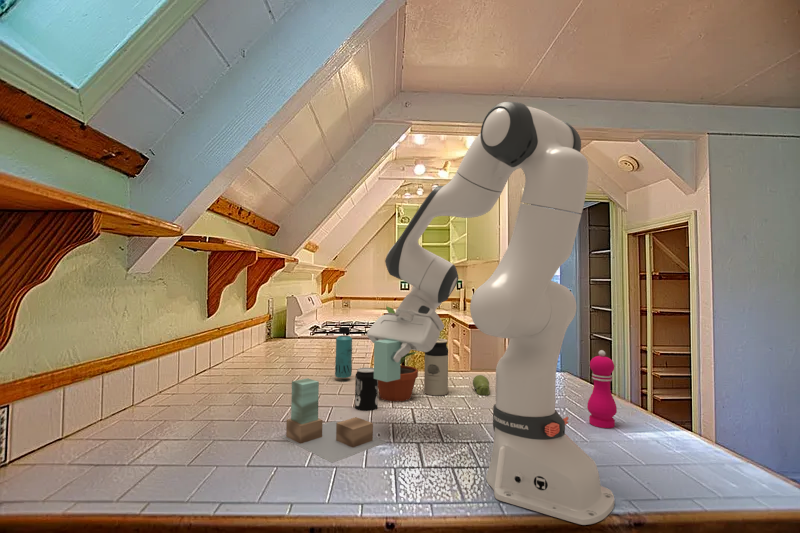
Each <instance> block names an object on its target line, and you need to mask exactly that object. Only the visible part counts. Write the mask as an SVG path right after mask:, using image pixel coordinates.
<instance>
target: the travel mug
mask: <svg viewBox="0 0 800 533" xmlns="http://www.w3.org/2000/svg"><path fill="white" fill-rule="evenodd" d="M448 341H449V340H448V339H446V338H445V339H444V338H438V340H437V342H436V343H435V345H434V347H433V348H432V349H431V350H430V351H428V352H424V372H423V373H424V380H423V381H424V382H423V384H424V386H423V388H424V391H423V392H424V393H425V394H426V395H428V396H433V397H439V396H445V395H447V394H448V393H449V349H448V347H447V343H448Z"/></svg>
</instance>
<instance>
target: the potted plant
mask: <svg viewBox="0 0 800 533" xmlns="http://www.w3.org/2000/svg"><path fill="white" fill-rule="evenodd" d="M385 307H386V311H387V314H388V313H396V310H394V309H393V308H392V307H390V306H388V305H387V304H385ZM379 317H380V316H379ZM379 317H378V316H377V319H378V318H379ZM415 354H418V352H416V351H413V352H409V353H408V354H406V355H405V356H403V357H402V358H401V359H400V379H398V380H394V381H389V382H384V381H381V380H378V395H379V398H380V399H381V400H383V401H387V402H404V401H409V400H411V397H412V394H413V391H414V387H415V383H416V379H417V378H418V377H419V369H418V368H417V367H413V366H409V365H402V364H403V363H404V362H405V360H406V358H407V357H409V356H411V355H415Z"/></svg>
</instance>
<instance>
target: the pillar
mask: <svg viewBox="0 0 800 533" xmlns="http://www.w3.org/2000/svg"><path fill="white" fill-rule="evenodd" d="M400 348H401V342H399V341H393V340H387V339H386V340H379V341H374V343H373V368H374V379H377V380H381V381H384V382H389V381H394V380H398V379H400V361H399V362H393V361H392V360H391V355H392V354H393V352H397V351H398V350H399V349H400Z"/></svg>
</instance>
